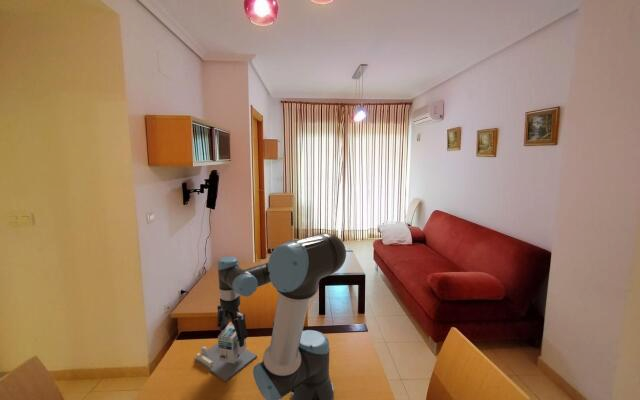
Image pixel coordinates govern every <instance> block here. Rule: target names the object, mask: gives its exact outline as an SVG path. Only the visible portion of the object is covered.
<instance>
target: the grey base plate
mask: <svg viewBox="0 0 640 400" xmlns="http://www.w3.org/2000/svg"><path fill="white" fill-rule="evenodd" d="M200 351H201V353H200V352H198V353H196V357H194V358H193V359H194V360H193V361H195V362H196V363H198V364H200V365H201V366H202V367H203V368H205V369H207V370H208V371H210V372H211V373H213V374H214V375H215V376H217V377H218V378H219V379H221V380H223V381H224V382H227V381H228V380H229V379H231V378H232V377H234V375H236V374H237V373H239V372H240V371H241V370H242V369H244V368H245V367H246V366H248V365H249V364H250V363H252V362H253V361H254V360H256V358H258V355H257V354H256V353H254V352H252V351H250V350H249V349H246V348H245V349H244V351H243V352H242V353H241V355H240V356H239V357H238V359H237V360H236V362H235V363H229V362H224V361H219V346H218V343H216V344H214V345H213V346H211V347H210V348H207V347H206V346H202V347H200Z"/></svg>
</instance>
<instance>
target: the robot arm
mask: <svg viewBox="0 0 640 400" xmlns="http://www.w3.org/2000/svg"><path fill="white" fill-rule="evenodd" d="M346 258H347V249H346V245H345V243H344V242H343V241H342V239H341V238H340V237H338V236H337V235H335V234H332V233H325V232H323V233H318V234H315V235H314V234H313V235H311V236H308V237H304V238H299V239H297V240H290V241H286V242H285V243H283V244H280V245H278V246H276V247H275V248H274V249H273V250H272V251H271V253H270V256H269V258H268V262H266V263H265V262H264V263H262V264H258V265H256V266H252V267H248V268H246V269H242V268H241V267H239V264H240V263H239V260H238V258H237V257H235V256H225V257H222V258H220V259H219V260H218V261H217V275H218V291H219V294H218V295H219V303H220V304H219V305H217V317H216V319H217V320H216V327H217V328H219V330H220V333H221V332H222V331H223V330H224V329H225V328H226V327H227V325H228V324H229V321H230V322H231V323H233V325H234V328H235V331H236V334H237V337H238V339H236V340H237V354H238V355H239V354H241V353H242V352H243V351H244V339H246V340H247V339H248V337H249V335H248V334H249V333H248V331H247V323H246V314H245V313H241V312H240V306H241V296H242V297H250V296H252V295H253V294H254V293H255V292H256V291H257V289H258V288H260V287H263V286H264V285H267V284H269V283H271V284H272V286H273V287H274V288H275V290H276V292H277V293H278V296H277V303H276V309H275V315H274V319H273V320H274V321H273V326H272V333H271V340H270V344H269V345H268V347H267V348H266V349H265V350H264V353H263V356H262V361H261V362H258V363H256V365H254V366H253V369H252V373H253V378H254V381H255V384H256V387H257V388H258V391H259V393H260V395H261V396H262V398H264V399H265V400H282V399H283V398H284V397H285V396H287V395H289V394H290V398H291V400H334V398H335V397H334V395H335V389H334V386H333V382H332V381H331V377H330V341H329V338H328V337H327V335H325V334H324V333H323V332H320V331H318V330H313V329H306V330H304V325H305V321H306V317H307V311H308V307H309V302H310V299H312V298H313V297H314V296H316V293H317V292H318V288H319V282H320V280H321V279H323V278H325V277H329V276H331V275H333V274H335V273H336V272H338V271H339V270H340V269H341V268H342V267H343V266H344V263H345V261H346Z"/></svg>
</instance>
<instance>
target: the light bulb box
mask: <svg viewBox="0 0 640 400" xmlns="http://www.w3.org/2000/svg"><path fill="white" fill-rule="evenodd" d="M236 339H238V337H237V334H236V331H235V328H234V325H233V323H231V321H230V322H228V324H227V327H226V328H225V329H224V330H223V331H222V332H221V331H220V333H219V334H218V336H217V341H218V343H217V344H218V346H219V361H224V362H229V363H235V362H236V360H237V359H238V357H239V356H240V355H241V354H239V355H238V354H237V340H236ZM246 348H247V338H246V339H244V349H246Z"/></svg>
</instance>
